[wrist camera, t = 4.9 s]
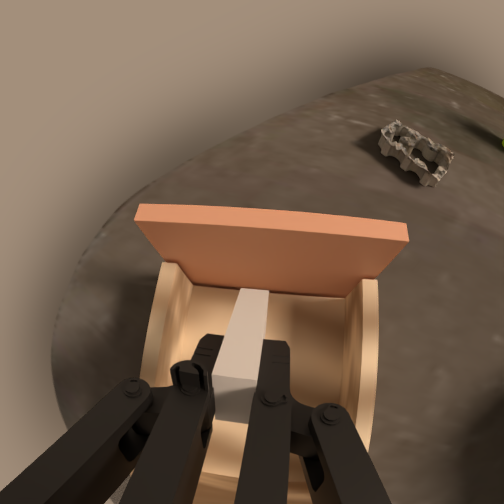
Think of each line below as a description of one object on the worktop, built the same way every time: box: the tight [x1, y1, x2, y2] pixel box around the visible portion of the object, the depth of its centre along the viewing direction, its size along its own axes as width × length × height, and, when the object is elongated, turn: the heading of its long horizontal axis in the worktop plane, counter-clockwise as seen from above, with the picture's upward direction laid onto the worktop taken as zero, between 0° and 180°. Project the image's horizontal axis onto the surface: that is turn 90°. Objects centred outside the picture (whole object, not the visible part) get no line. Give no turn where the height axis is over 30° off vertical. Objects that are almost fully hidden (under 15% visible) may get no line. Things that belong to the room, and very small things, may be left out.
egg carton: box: [378, 120, 454, 187], centre depth 31 cm, size 11×8×4 cm
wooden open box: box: [130, 262, 379, 504], centre depth 18 cm, size 18×16×9 cm
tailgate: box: [134, 204, 409, 298], centre depth 20 cm, size 1×16×12 cm, turn 83°
